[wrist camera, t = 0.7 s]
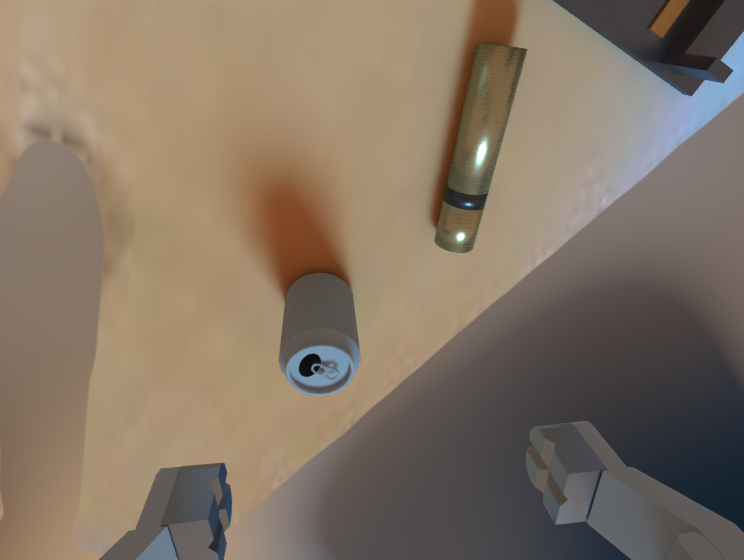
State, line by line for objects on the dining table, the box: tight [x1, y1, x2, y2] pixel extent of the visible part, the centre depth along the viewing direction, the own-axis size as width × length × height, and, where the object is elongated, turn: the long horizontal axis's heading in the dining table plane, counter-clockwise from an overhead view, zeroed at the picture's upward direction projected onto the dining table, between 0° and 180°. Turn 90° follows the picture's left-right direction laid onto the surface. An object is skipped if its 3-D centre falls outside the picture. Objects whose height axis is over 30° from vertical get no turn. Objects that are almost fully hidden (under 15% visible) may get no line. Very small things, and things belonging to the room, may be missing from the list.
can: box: [279, 273, 361, 396], centre depth 44 cm, size 8×8×12 cm
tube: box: [434, 42, 527, 253], centre depth 40 cm, size 18×4×4 cm, turn 173°
